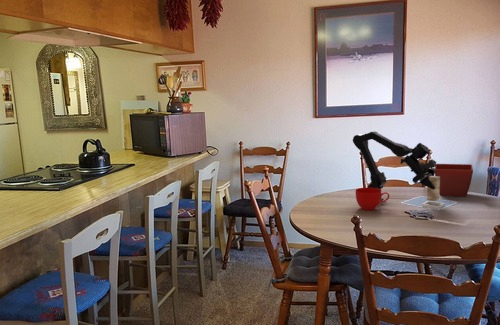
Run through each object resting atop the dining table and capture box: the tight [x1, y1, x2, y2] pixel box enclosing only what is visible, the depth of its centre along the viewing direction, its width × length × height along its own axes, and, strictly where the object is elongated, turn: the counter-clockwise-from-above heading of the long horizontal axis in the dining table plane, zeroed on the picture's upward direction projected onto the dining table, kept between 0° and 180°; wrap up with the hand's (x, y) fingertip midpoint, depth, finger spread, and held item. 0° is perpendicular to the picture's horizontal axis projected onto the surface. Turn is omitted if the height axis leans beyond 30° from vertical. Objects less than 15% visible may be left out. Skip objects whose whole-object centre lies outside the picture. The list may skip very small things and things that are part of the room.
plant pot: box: [434, 163, 474, 198], centre depth 224 cm, size 19×19×17 cm
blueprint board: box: [399, 195, 460, 212], centre depth 208 cm, size 22×22×1 cm
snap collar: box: [422, 201, 444, 209], centre depth 201 cm, size 8×8×2 cm
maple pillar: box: [426, 175, 440, 201], centre depth 199 cm, size 4×4×12 cm
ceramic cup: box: [355, 187, 390, 211], centre depth 204 cm, size 13×17×10 cm
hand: (436, 188), depth 198 cm, fingers closed on maple pillar, 4 cm apart
